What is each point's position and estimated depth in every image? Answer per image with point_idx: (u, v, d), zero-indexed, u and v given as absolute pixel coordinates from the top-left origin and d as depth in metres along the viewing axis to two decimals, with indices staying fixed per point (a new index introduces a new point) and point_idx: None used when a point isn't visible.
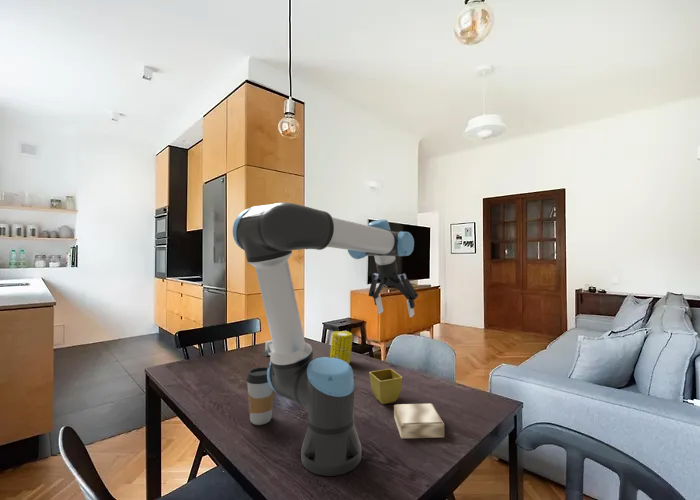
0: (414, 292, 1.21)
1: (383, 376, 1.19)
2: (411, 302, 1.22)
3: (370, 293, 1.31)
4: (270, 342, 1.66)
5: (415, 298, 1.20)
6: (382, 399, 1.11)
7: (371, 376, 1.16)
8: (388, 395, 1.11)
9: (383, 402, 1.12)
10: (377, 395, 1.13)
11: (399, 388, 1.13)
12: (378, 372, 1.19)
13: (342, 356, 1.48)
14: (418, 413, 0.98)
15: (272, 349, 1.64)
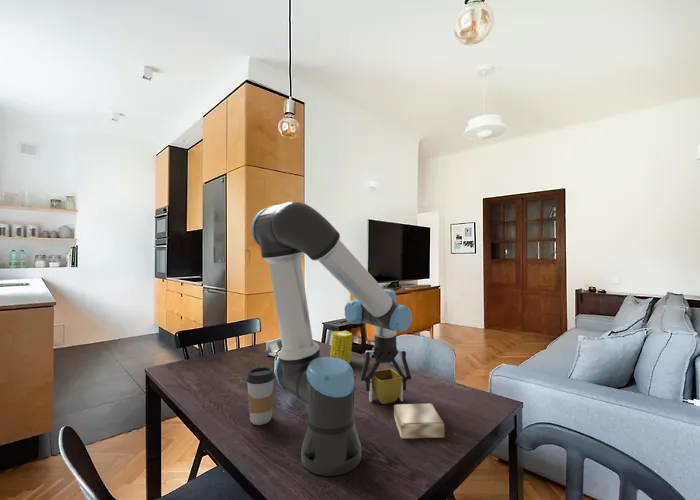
0: None
1: (383, 376, 1.19)
2: (404, 383, 1.15)
3: (363, 376, 1.14)
4: (271, 342, 1.66)
5: None
6: (382, 399, 1.11)
7: None
8: (388, 395, 1.11)
9: (383, 402, 1.12)
10: (377, 395, 1.13)
11: (399, 388, 1.13)
12: (378, 372, 1.19)
13: (342, 356, 1.48)
14: (418, 413, 0.98)
15: (273, 349, 1.64)
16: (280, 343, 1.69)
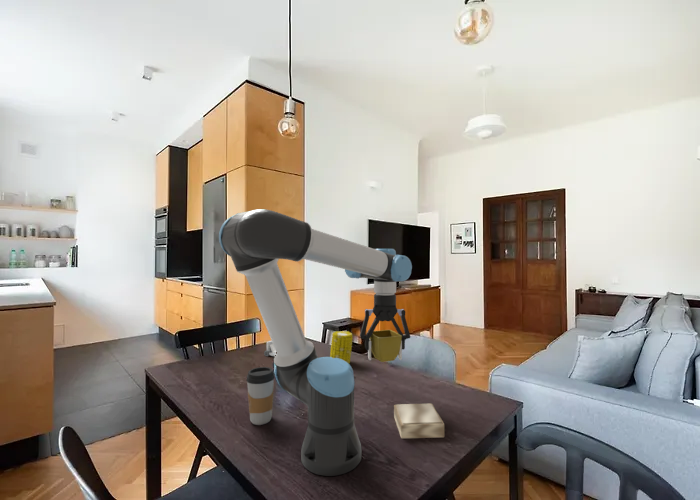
0: None
1: (383, 336, 1.19)
2: (403, 342, 1.15)
3: (363, 334, 1.13)
4: (271, 342, 1.66)
5: None
6: (381, 356, 1.11)
7: None
8: (387, 353, 1.11)
9: (382, 360, 1.11)
10: (376, 353, 1.13)
11: (398, 346, 1.12)
12: (377, 332, 1.18)
13: (342, 356, 1.48)
14: (418, 413, 0.98)
15: (273, 349, 1.64)
16: None
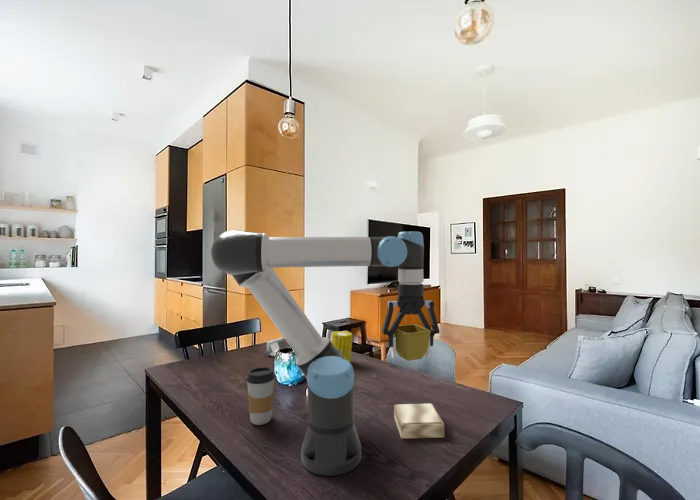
0: None
1: (407, 331, 1.05)
2: (432, 338, 1.01)
3: (386, 330, 0.99)
4: (271, 342, 1.66)
5: None
6: (408, 354, 0.97)
7: None
8: (415, 350, 0.97)
9: (409, 358, 0.98)
10: (401, 351, 0.99)
11: (427, 342, 0.99)
12: (400, 327, 1.04)
13: None
14: (418, 413, 0.98)
15: (274, 349, 1.64)
16: (280, 343, 1.69)
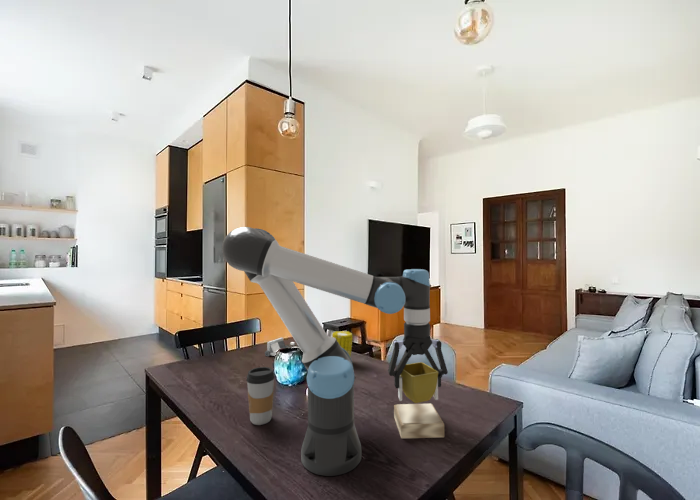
0: None
1: (414, 370, 1.02)
2: (439, 378, 0.98)
3: (392, 371, 0.97)
4: (272, 342, 1.66)
5: None
6: (415, 397, 0.94)
7: None
8: (422, 393, 0.95)
9: (416, 401, 0.95)
10: (408, 393, 0.96)
11: (434, 384, 0.96)
12: (407, 366, 1.02)
13: None
14: (418, 413, 0.98)
15: (274, 349, 1.64)
16: (281, 343, 1.69)
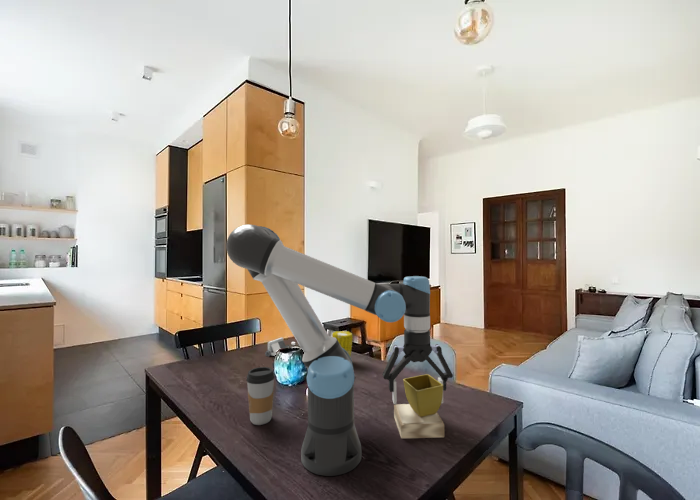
0: None
1: (420, 383, 1.02)
2: (445, 382, 0.98)
3: (387, 374, 0.97)
4: (272, 342, 1.66)
5: (452, 376, 0.98)
6: (420, 411, 0.94)
7: (405, 384, 0.99)
8: (427, 406, 0.95)
9: (421, 415, 0.95)
10: (414, 406, 0.97)
11: (440, 398, 0.96)
12: (413, 379, 1.02)
13: None
14: None
15: (275, 349, 1.64)
16: (281, 343, 1.69)
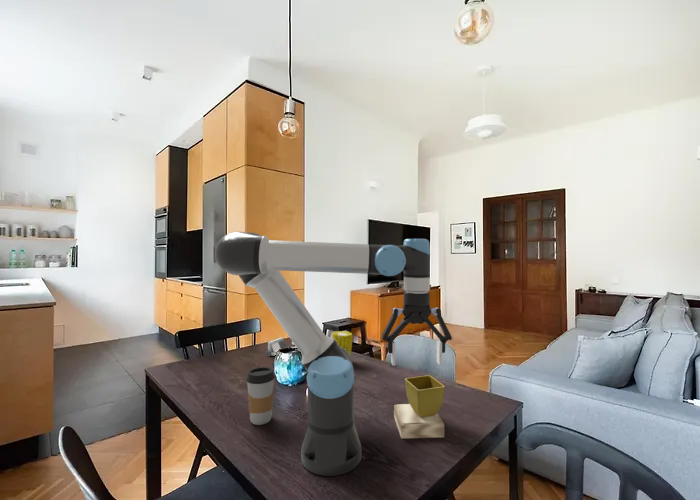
0: None
1: (421, 383, 1.02)
2: (444, 344, 0.98)
3: (386, 336, 0.97)
4: (272, 342, 1.66)
5: (451, 338, 0.98)
6: (420, 411, 0.94)
7: (407, 383, 0.99)
8: (427, 407, 0.95)
9: (421, 415, 0.95)
10: (414, 406, 0.97)
11: (441, 399, 0.95)
12: (415, 379, 1.02)
13: None
14: None
15: (275, 349, 1.64)
16: (281, 343, 1.69)
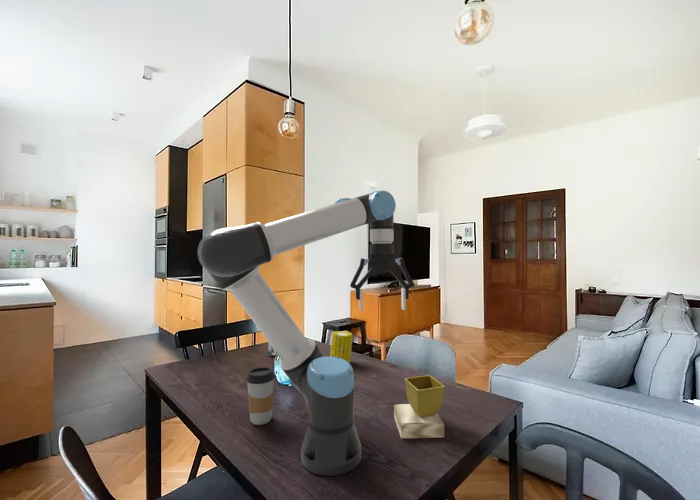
0: None
1: (421, 383, 1.02)
2: (407, 291, 1.07)
3: (353, 283, 1.05)
4: None
5: None
6: (420, 411, 0.94)
7: (407, 383, 0.99)
8: (427, 407, 0.95)
9: (421, 415, 0.95)
10: (414, 406, 0.97)
11: (440, 399, 0.95)
12: (414, 379, 1.02)
13: (342, 356, 1.48)
14: None
15: None
16: None
